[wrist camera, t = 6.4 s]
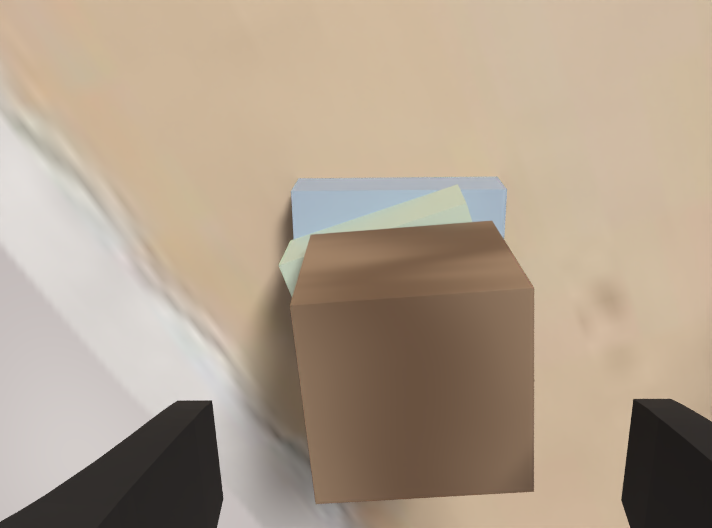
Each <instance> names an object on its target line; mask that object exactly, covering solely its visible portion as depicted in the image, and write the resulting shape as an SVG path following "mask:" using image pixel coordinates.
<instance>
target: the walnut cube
mask: <svg viewBox="0 0 712 528" xmlns="http://www.w3.org/2000/svg"><path fill="white" fill-rule="evenodd" d="M290 312H291V319H292V327H293V334H294V342H295V350H296V357H297V365H298V373H299V380H300V388H301V396H302V403H303V411H304V418H305V426H306V434H307V441H308V449H309V457H310V464H311V472H312V479H313V487H314V495H315V502H316V504H324V503H342V502H359V501H377V500H394V499H412V498H430V497H447V496H465V495H482V494H500V493H517V492H534V287H533V285H532V284H531V282H530V281H529V279H528V277H527V276H526V274H525V273H524V271H523V269H522V268H521V266H520V265H519V263H518V261H517V260H516V258H515V256H514V255H513V253H512V252H511V250H510V248H509V247H508V245H507V244H506V242H505V240H504V239H503V237H502V236H501V234H500V232H499V231H498V229H497V228H496V226H495V224H494V223H493V221H479V222H467V223H454V224H441V225H428V226H415V227H402V228H389V229H376V230H363V231H350V232H337V233H325V234H312V235H310V239H309V242H308V245H307V249H306V252H305V256H304V259H303V262H302V266H301V269H300V272H299V276H298V279H297V283H296V286H295V289H294V293H293V296H292V300H291V303H290Z"/></svg>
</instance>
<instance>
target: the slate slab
mask: <svg viewBox="0 0 712 528" xmlns="http://www.w3.org/2000/svg"><path fill="white" fill-rule="evenodd" d="M457 184H458V186H459V188H460V190H461V192H462V195H463V197H464V199H465V201H466V203H467V206H468V209H469V213H470V216H471V219H472V222H479V221H493V223H494V224H495V226H496V228H497V229H498V231H499V232H500V234H501V236H502V237H503V239H504V232H505V215H506V198H507V189H506V187H505V186H504V185H503V184H502V182H501V181H500V180H499V178H498V177H412V178H299V179H298V180H297V182H296V184H295V185H294V187H293V189H292V191H291V197H292V217H293V237H294V239H296V238H299V237H302V236H305V235H308V234H311V233H314V232H317V231H320V230H323V229H326V228H329V227H332V226H335V225H338V224H341V223H344V222H347V221H350V220H353V219H356V218H359V217H362V216H365V215H368V214H371V213H374V212H377V211H379V210H382V209H385V208H388V207H391V206H394V205H397V204H400V203H403V202H406V201H409V200H412V199H415V198H418V197H421V196H424V195H427V194H430V193H433V192H436V191H439V190H442V189H445V188H448V187H451V186H454V185H457Z"/></svg>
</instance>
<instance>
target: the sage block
mask: <svg viewBox="0 0 712 528" xmlns="http://www.w3.org/2000/svg"><path fill="white" fill-rule="evenodd" d="M467 222H472V219H471V216H470V213H469V209H468V206H467V203H466V201H465V199H464V197H463V195H462V192H461V190H460V188H459V186H458V184H457V185H454V186H451V187H448V188H445V189H442V190H439V191H436V192H433V193H430V194H427V195H424V196H421V197H418V198H415V199H412V200H409V201H406V202H403V203H400V204H397V205H394V206H391V207H388V208H385V209H382V210H379V211H377V212H374V213H371V214H368V215H365V216H362V217H359V218H356V219H353V220H350V221H347V222H344V223H341V224H338V225H335V226H332V227H329V228H326V229H323V230H320V231H317V232H314V233H311V234H308V235H305V236H302V237H299V238H296V239H293V240H290V242H289V244H288V247H287V249H286V251H285V253H284V255H283V257H282V259H281V261H280V263H279V268H280V270H281V272H282V275H283V277H284V280H285V282H286V285H287V287H288V289H289V292H290V294H291V297H292V296H293V293H294V289H295V286H296V283H297V279H298V276H299V272H300V269H301V266H302V262H303V259H304V256H305V252H306V249H307V245H308V242H309V239H310V235H312V234H325V233H337V232H350V231H363V230H376V229H389V228H402V227H415V226H428V225H441V224H454V223H467Z"/></svg>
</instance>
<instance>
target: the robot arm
mask: <svg viewBox="0 0 712 528" xmlns="http://www.w3.org/2000/svg"><path fill="white" fill-rule="evenodd" d="M621 501H622V504H623V507H624V510H625V513H626V516H627V519H628V522H629V525H630V528H712V422H711V421H710V420H708V419H706V418H705V417H703V416H701V415H700V414H698V413H696V412H695V411H693V410H691V409H689V408H687V407H686V406H684V405H682V404H680V403H678V402H676V401H674V400H672V399H633V407H632V416H631V424H630V432H629V441H628V449H627V457H626V466H625V474H624V482H623V491H622V499H621ZM222 502H223V492H222V483H221V475H220V466H219V457H218V449H217V440H216V431H215V423H214V414H213V405H212V401H177V402H175V403H173V404H172V405H170V406H169V407H167V408H166V409H165V410H163V411H162V412H160V413H159V414H158V415H156V416H155V417H154V418H152V419H151V420H150V421H148V422H147V423H146V424H144V425H143V426H142V427H141V428H139V429H138V430H137V431H135V432H134V433H133V434H131V435H130V436H129V437H128V438H126V439H125V440H123V441H122V442H121V443H119V444H118V445H116V446H115V447H114V448H112V449H111V450H110V451H108V452H107V453H106V454H104V455H103V456H102V457H100V458H99V459H98V460H96V461H95V462H93V463H92V464H90V465H89V466H87V467H86V468H85V469H83V470H82V471H80V472H79V473H77V474H76V475H74V476H73V477H71V478H70V479H68V480H67V481H65V482H64V483H63V484H61V485H59V486H58V487H56V488H55V489H54V490H52V491H51V492H49V493H48V494H46V495H45V496H43V497H41V498H40V499H38V500H37V501H35V502H33V503H32V504H30V505H28V506H27V507H25V508H23V509H22V510H20V511H18V512H17V513H15V514H13V515H11V516H10V517H8V518H6V519H4V520H3V521H1V522H0V528H217V524H218V520H219V515H220V511H221V506H222Z"/></svg>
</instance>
